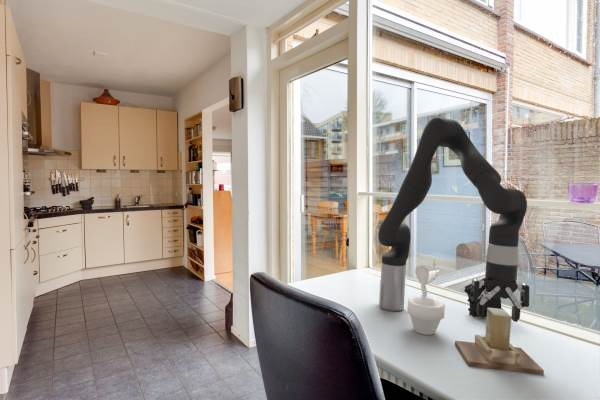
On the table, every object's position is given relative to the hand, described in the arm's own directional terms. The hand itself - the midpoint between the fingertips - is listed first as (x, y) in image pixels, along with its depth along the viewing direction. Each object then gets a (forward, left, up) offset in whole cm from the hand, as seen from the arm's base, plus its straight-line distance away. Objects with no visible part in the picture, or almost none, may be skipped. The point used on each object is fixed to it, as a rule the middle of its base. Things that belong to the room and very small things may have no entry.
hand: (497, 318), depth 96 cm
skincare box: (0, -1, -10) cm, 10 cm away
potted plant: (-16, +14, -11) cm, 24 cm away
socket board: (0, 0, -11) cm, 11 cm away
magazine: (+8, +35, -11) cm, 38 cm away
